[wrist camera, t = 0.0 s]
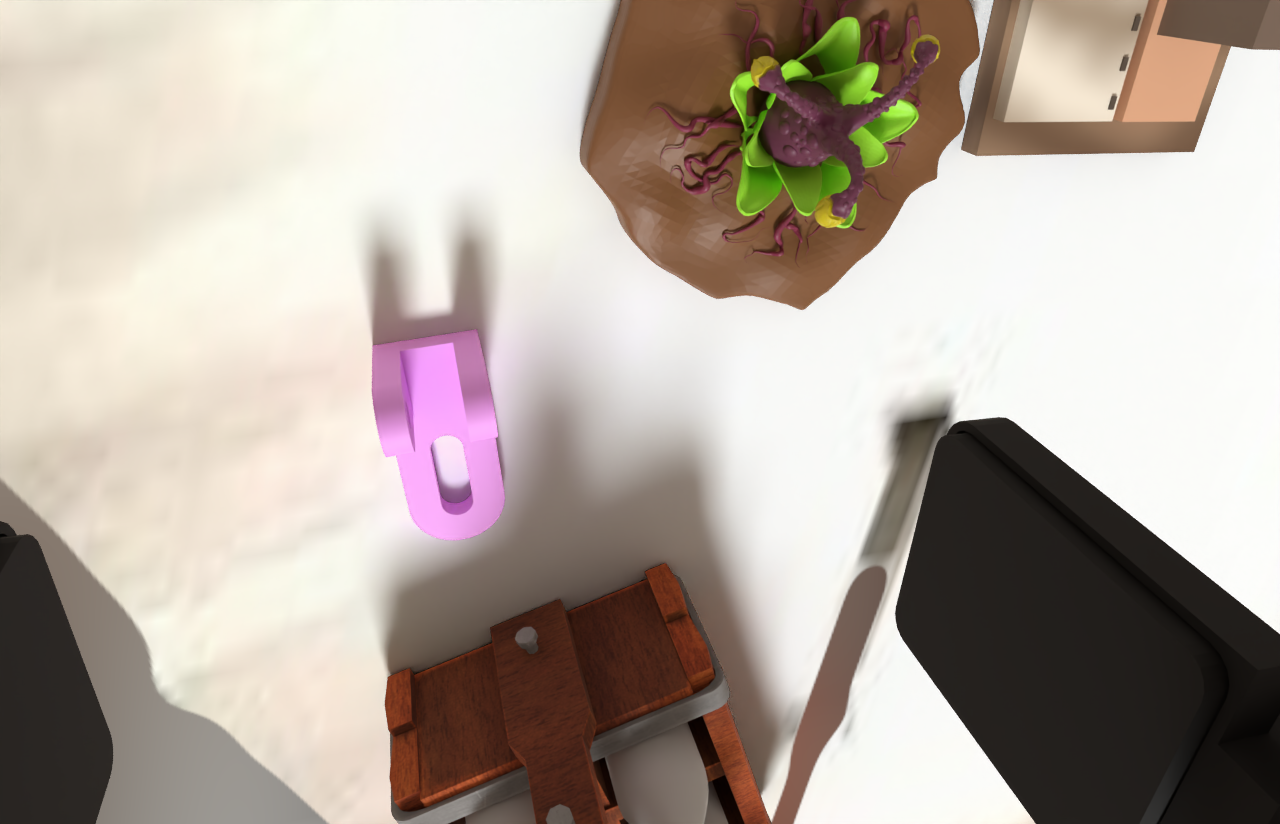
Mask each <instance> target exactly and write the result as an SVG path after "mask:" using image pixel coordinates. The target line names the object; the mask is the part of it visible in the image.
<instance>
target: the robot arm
mask: <svg viewBox="0 0 1280 824" xmlns="http://www.w3.org/2000/svg"><path fill="white" fill-rule="evenodd" d="M895 615H896V623H897V628H898V630H899V633H900V635H901V637H902V639H903V641H904V642H905V643H906V645H907V646H908V648H909V649H910V650H911V652H912V653H913V655H914V656H915V657H916V659H917V660H918V661H919V663H920V664H921V666H922V667H923V668H924V670H925V671H926V672H927V674H928V675H929V677H930V678H931V679H932V681H933V682H934V684H935V685H936V686H937V688H938V689H939V690H940V692H941V693H942V695H943V696H944V697H945V699H946V700H947V701H948V703H949V704H950V706H951V707H952V708H953V710H954V711H955V713H956V714H957V715H958V717H959V718H960V719H961V721H962V722H963V724H964V725H965V726H966V728H967V729H968V730H969V732H970V733H971V735H972V736H973V737H974V739H975V740H976V742H977V743H978V744H979V746H980V747H981V748H982V750H983V751H984V753H985V754H986V755H987V757H988V758H989V759H990V761H991V762H992V764H993V765H994V766H995V768H996V769H997V771H998V772H999V773H1000V775H1001V776H1002V777H1003V779H1004V780H1005V782H1006V783H1007V784H1008V786H1009V787H1010V789H1011V790H1012V791H1013V793H1014V794H1015V795H1016V797H1017V798H1018V800H1019V801H1020V802H1021V804H1022V805H1023V806H1024V808H1025V809H1026V811H1027V812H1028V813H1029V815H1030V816H1031V818H1032V819H1033V820H1034V822H1035V823H1036V824H1280V634H1279V633H1278V632H1276V631H1275V630H1274V629H1273V628H1271V627H1270V626H1269V625H1268V624H1266V623H1265V622H1264V621H1263V620H1261V619H1260V618H1259V617H1258V616H1256V615H1255V614H1254V613H1253V612H1251V611H1250V610H1249V609H1248V608H1246V607H1245V606H1244V605H1242V604H1241V603H1240V602H1239V601H1237V600H1236V599H1235V598H1234V597H1232V596H1231V595H1230V594H1229V593H1227V592H1226V591H1225V590H1224V589H1222V588H1221V587H1220V586H1219V585H1217V584H1216V583H1215V582H1214V581H1212V580H1211V579H1210V578H1209V577H1207V576H1206V575H1205V574H1204V573H1202V572H1201V571H1200V570H1199V569H1197V568H1196V567H1195V566H1194V565H1192V564H1191V563H1190V562H1189V561H1187V560H1186V559H1185V558H1184V557H1182V556H1181V555H1180V554H1179V553H1177V552H1176V551H1175V550H1174V549H1172V548H1171V547H1170V546H1169V545H1167V544H1166V543H1165V542H1163V541H1162V540H1161V539H1160V538H1158V537H1157V536H1156V535H1155V534H1153V533H1152V532H1151V531H1150V530H1148V529H1147V528H1146V527H1145V526H1143V525H1142V524H1141V523H1140V522H1138V521H1137V520H1136V519H1135V518H1133V517H1132V516H1131V515H1130V514H1128V513H1127V512H1126V511H1125V510H1123V509H1122V508H1121V507H1120V506H1118V505H1117V504H1116V503H1115V502H1113V501H1112V500H1111V499H1110V498H1108V497H1107V496H1106V495H1105V494H1103V493H1102V492H1101V491H1100V490H1098V489H1097V488H1096V487H1095V486H1093V485H1092V484H1091V483H1090V482H1088V481H1087V480H1086V479H1085V478H1083V477H1082V476H1081V475H1079V474H1078V473H1077V472H1076V471H1074V470H1073V469H1072V468H1071V467H1069V466H1068V465H1067V464H1066V463H1064V462H1063V461H1062V460H1061V459H1059V458H1058V457H1057V456H1056V455H1054V454H1053V453H1052V452H1051V451H1049V450H1048V449H1047V448H1046V447H1044V446H1043V445H1042V444H1041V443H1039V442H1038V441H1037V440H1036V439H1034V438H1033V437H1032V436H1031V435H1029V434H1028V433H1027V432H1026V431H1024V430H1023V429H1022V428H1021V427H1019V426H1018V425H1017V424H1016V423H1014V422H1013V421H1011V420H1009V419H1007V418H1000V417H998V418H988V419H979V420H969V421H960V422H958V423H956V424H954V425H953V426H952V427H951V428H950V429H949V431H948V433H947V435H945V436H943V437H941V438H940V440H939V441H938V443H937V445H936V448H935V452H934V456H933V460H932V464H931V468H930V472H929V476H928V480H927V484H926V488H925V492H924V496H923V500H922V504H921V508H920V512H919V516H918V520H917V524H916V528H915V532H914V536H913V541H912V545H911V549H910V553H909V557H908V561H907V565H906V569H905V573H904V577H903V581H902V585H901V589H900V593H899V597H898V601H897V605H896V612H895ZM112 764H113V744H112V738H111V734H110V731H109V728H108V726H107V723H106V720H105V718H104V715H103V713H102V710H101V707H100V704H99V702H98V699H97V696H96V694H95V691H94V688H93V686H92V683H91V680H90V678H89V675H88V672H87V670H86V667H85V664H84V662H83V659H82V657H81V654H80V651H79V648H78V646H77V643H76V640H75V638H74V635H73V632H72V630H71V627H70V624H69V622H68V619H67V616H66V614H65V611H64V608H63V606H62V603H61V600H60V597H59V595H58V592H57V589H56V587H55V584H54V582H53V579H52V576H51V574H50V571H49V568H48V565H47V563H46V561H45V557H44V555H43V552H42V549H41V547H40V545H39V543H38V541H37V540H36V539H35V538H34V537H33V536H31V535H28V534H26V535H16V533H15V531H14V530H13V529H12V528H11V527H10V526H9V525H8V524H7V523H4V522H1V521H0V824H95V823H96V820H97V817H98V814H99V810H100V807H101V804H102V801H103V798H104V795H105V791H106V788H107V785H108V782H109V779H110V775H111V770H112Z"/></svg>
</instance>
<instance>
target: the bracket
mask: <svg viewBox="0 0 1280 824" xmlns="http://www.w3.org/2000/svg"><path fill="white" fill-rule="evenodd" d="M372 397H373V406H374V412H375V418H376V424H377V429H378V433H379V438H380V442H381V446H382V449H383V452H384V454H385V456H386V457H390V456H395V455H396V457H397V461H398V465H399V470H400V474H401V478H402V482H403V486H404V491H405V495H406V499H407V503H408V508H409V512H410V515H411V517H412V519H413V521H414V522H415V524H416V525H417V526H418V527H419V528H420V529H421V530H422V531H424V532H425V533H427V534H429V535H431V536H433V537H436V538H439V539H444V540H462V539H467V538H471V537H474V536H476V535H478V534H480V533H482V532H484V531H486V530H487V529H488V528H490V527H491V526H492V525H493V524H494V523H495V522H496V520H497V519H498V518H499V516H500V514H501V512H502V510H503V507H504V502H505V494H504V487H503V481H502V475H501V469H500V463H499V457H498V451H497V445H496V438H495V437H498V431H497V424H496V418H495V412H494V406H493V400H492V395H491V389H490V384H489V379H488V374H487V370H486V365H485V361H484V357H483V353H482V349H481V344H480V340H479V336H478V332H477V329H475V330H469V331H462V332H456V333H449V334H443V335H436V336H430V337H424V338H417V339H411V340H404V341H398V342H391V343H385V344H378V345H373V352H372ZM445 435H450V436H454V437H456V438H458V439H459V440H460V441H461V442H462V444H463V447H464V453H465V458H466V463H467V469H468V474H469V479H470V485H471V494H470V496H469V497H468V498H467V499H466V500H464V501H462V502H459V503H450V502H447V501H445V500H444V499H443V498H442V496H441V494H440V490H439V485H438V480H437V475H436V471H435V466H434V461H433V457H432V452H431V444H432V443H433V441H434V440H436V439H437V438H439V437H441V436H445Z"/></svg>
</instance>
